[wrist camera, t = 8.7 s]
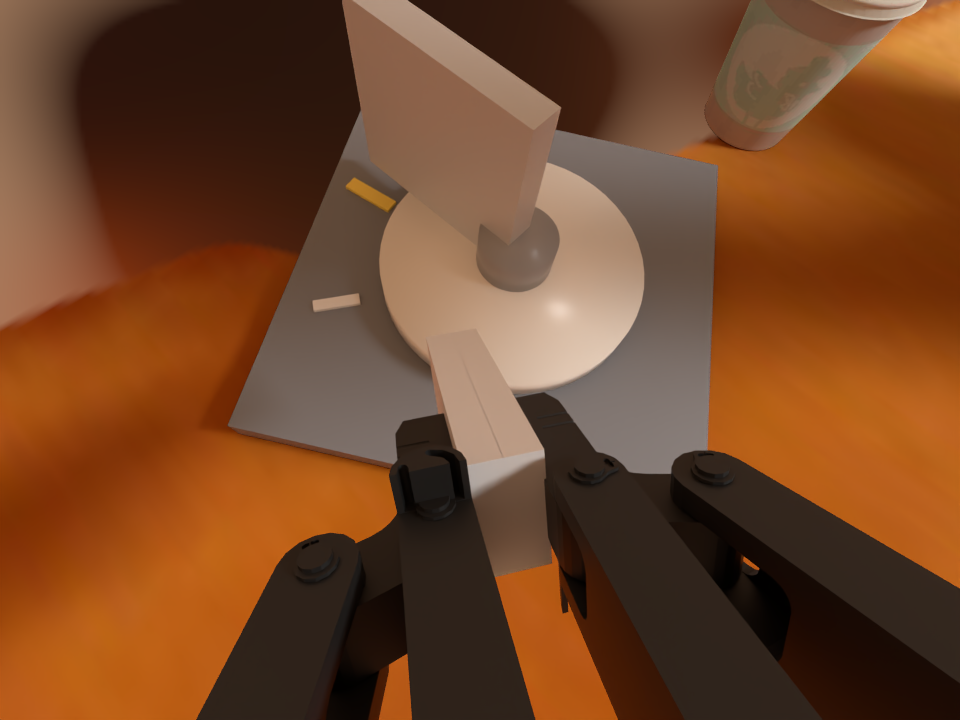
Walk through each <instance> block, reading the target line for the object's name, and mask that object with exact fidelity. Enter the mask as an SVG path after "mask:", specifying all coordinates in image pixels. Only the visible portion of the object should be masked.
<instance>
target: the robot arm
mask: <svg viewBox="0 0 960 720" xmlns="http://www.w3.org/2000/svg"><path fill="white" fill-rule="evenodd" d="M426 342H427V348H428V354H429V360H430V366H431V372H432V378H433V384H434V390H435V396H436V402H437V408H438V414H436V415H431V416H426V417H421V418H416V419H411V420H405V421H403V422H402V423H401V425H400V427H399V428H398V430H397V432H396V433H395V438H396V448H397V449H396V451H397V461H396V462H395V463H394V464H393V465H392V467H391V470H390V474H389V478H390V483H391V487H392V491H393V496H394V500H395V505H396V509H397V515H396V516H395V518H394V519H393V520H392V521H391V522H390V524H388V525H387V526H386V527H385V528H384V529H382V530H381V531H379V532H378V533H376V534H374V535H373V536H371V537H369V538H367V539H365V540H362V541H360V542H358V543H355V541H354V540H353V539H351V538H349V537H348V536H346V535H344V534H336V533H327V534H322V535H317V536H313V537H311V538H309V539H307V540H305V541H302V542H300V543H299V544H297V545H296V546H295V547H293V548H292V549H291V550H289V551H288V552H287V553H286V554H285V555H284V556H283V558H282V559H281V560H280V562H279V563H278V564H277V566H276V568H275V570H274V572H273V574H272V575H271V577H270V579H269V581H268V583H267V585H266V587H265V589H264V591H263V593H262V595H261V597H260V598H259V600H258V602H257V604H256V606H255V608H254V610H253V612H252V614H251V616H250V618H249V620H248V621H247V623H246V625H245V627H244V629H243V631H242V633H241V635H240V637H239V639H238V641H237V643H236V644H235V646H234V648H233V650H232V652H231V654H230V656H229V658H228V660H227V662H226V664H225V666H224V667H223V669H222V671H221V673H220V675H219V677H218V679H217V681H216V683H215V685H214V687H213V689H212V690H211V692H210V694H209V696H208V698H207V700H206V702H205V704H204V706H203V708H202V710H201V712H200V713H199V715H198V717H197V719H196V720H379V715H380V710H381V706H382V701H383V696H384V691H385V687H386V682H387V677H388V673H389V664H391V663H392V662H394V661H396V660H397V659H399V658H401V657H402V656H404V655H406V654H407V653H408V667H409V681H410V695H411V709H412V720H535V717H534V713H533V710H532V706H531V703H530V699H529V696H528V692H527V689H526V685H525V682H524V678H523V675H522V671H521V668H520V664H519V661H518V657H517V654H516V650H515V647H514V643H513V640H512V636H511V633H510V629H509V626H508V622H507V619H506V615H505V612H504V608H503V605H502V601H501V598H500V594H499V591H498V587H497V584H496V580H495V577H497V576H501V575H505V574H509V573H513V572H518V571H522V570H526V569H530V568H534V567H538V566H542V565H547V564H551V563H552V557H551V546H552V548H553V550H554V552H555V555H556V557H557V559H558V562H559V579H560V596H561V606H562V612H563V613H566V612H568V602H569V605H570V607H571V610H572V612H573V614H574V617H575V619H576V621H577V624H578V626H579V628H580V631H581V633H582V635H583V638H584V640H585V642H586V645H587V647H588V650H589V652H590V654H591V657H592V659H593V661H594V664H595V666H596V668H597V671H598V673H599V675H600V678H601V680H602V682H603V685H604V687H605V689H606V692H607V694H608V697H609V699H610V701H611V704H612V706H613V708H614V711H615V713H616V715H617V718H618V720H960V589H959V588H958V587H956V586H954V585H953V584H951V583H949V582H947V581H946V580H944V579H942V578H941V577H939V576H937V575H935V574H934V573H932V572H930V571H929V570H927V569H925V568H924V567H922V566H920V565H918V564H917V563H915V562H913V561H912V560H910V559H908V558H906V557H905V556H903V555H901V554H900V553H898V552H896V551H894V550H893V549H891V548H889V547H888V546H886V545H884V544H883V543H881V542H879V541H877V540H876V539H874V538H872V537H871V536H869V535H867V534H865V533H864V532H862V531H860V530H859V529H857V528H855V527H853V526H852V525H850V524H848V523H847V522H845V521H843V520H842V519H840V518H838V517H836V516H835V515H833V514H831V513H830V512H828V511H826V510H824V509H823V508H821V507H819V506H818V505H816V504H814V503H812V502H811V501H809V500H807V499H806V498H804V497H802V496H800V495H799V494H797V493H795V492H794V491H792V490H790V489H789V488H787V487H785V486H783V485H782V484H780V483H778V482H777V481H775V480H773V479H771V478H770V477H768V476H766V475H765V474H763V473H761V472H759V471H758V470H756V469H754V468H753V467H751V466H749V465H748V464H746V463H744V462H742V461H741V460H739V459H737V458H734V457H732V456H730V455H727V454H725V453H720V452H715V451H710V450H695V451H691V452H687V453H683V454H682V455H680V456H679V457H677V458H676V459H675V460H674V462H673V465H672V467H671V474H643V473H632V472H629V471H628V470H627V469H626V468H625V466H624V465H623V464H622V463H621V462H619V461H618V460H617V459H616V458H614V457H612V456H609V455H607V454H605V453H600V452H596V450H595V449H594V448H593V446H592V445H591V444H590V442H589V441H588V439H587V438H586V437H585V435H584V434H583V433H582V431H581V430H580V429H579V427H578V426H577V424H576V423H574V421H573V419H572V418H571V416H570V415H569V414H568V413H567V411H566V409H565V408H564V407H563V405H562V404H561V403H560V401H559V400H557V399H556V398H554V397H552V396H550V395H548V394H546V393H544V392H542V393H537V394H532V395H527V396H522V397H516V398H515V397H514V395H513V393H512V392H511V390H510V388H509V386H508V384H507V383H506V381H505V379H504V377H503V376H502V374H501V372H500V370H499V369H498V367H497V365H496V363H495V362H494V360H493V358H492V356H491V354H490V353H489V351H488V349H487V347H486V346H485V344H484V342H483V340H482V339H481V337H480V335H479V333H478V331H477V330H476V328H475V329H470V330H464V331H458V332H452V333H446V334H441V335H435V336H429V337H426ZM743 557H746V558H747V559H748V560H750V561H751V562H752V563H754V564H755V565H756V566H757V567H759V568H760V569H759V570H755V569H753V568H752V567H750V566H749V565H747V564H746V563H745V562H743Z"/></svg>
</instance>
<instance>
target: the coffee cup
mask: <svg viewBox="0 0 960 720" xmlns="http://www.w3.org/2000/svg"><path fill="white" fill-rule="evenodd" d="M926 1H927V0H751V2H750V4H749V6H748V9H747V11H746V13H745V16H744V18H743V20H742V23H741V25H740V28H739V30H738V32H737V34H736V36H735V39H734V41H733V43H732V46H731V48H730V50H729V52H728V55H727V57H726V59H725V62H724V64H723V66H722V68H721V71H720V73H719V75H718V78H717V80H716V83H715V85H714V87H713V90H712V92H711V94H710V96H709V99H708V101H707V103H706V106H705V118H706V121H707V123H708V125H709V126H710V128H711V130H712V131H713V132H714V133H715V134H716V135H717V136H718V137H719V138H720V139H722V140H723V141H725V142H726V143H728V144H730V145H732V146H734V147H737V148H740V149H745V150H753V151H757V150H765V149H768V148H771V147H773V146H774V145H776V144H777V143H778V142H779V141H780V140H781V139H782V138H783V137H784V136H785V135H786V134H787V133H788V132H789V131H790V130H791V129H792V128H793V127H794V126H795V125H796V124H797V123H799V122H800V121H801V120H802V119H803V118H804V117H805V116H806V115H807V114H808V113H809V112H810V111H811V110H812V109H813V108H814V107H815V106H816V105H817V104H818V103H819V102H820V101H821V100H822V99H823V98H824V97H825V96H826V95H827V94H828V93H829V92H830V91H831V90H832V89H833V88H834V87H835V86H836V85H837V84H838V83H839V82H840V81H841V80H842V79H843V78H844V77H845V76H846V75H847V74H848V73H849V72H850V71H851V70H852V69H853V68H854V67H855V66H856V65H857V64H858V63H859V62H860V61H861V60H862V59H863V58H864V57H865V56H866V55H867V54H868V53H869V52H870V51H871V50H872V49H873V48H874V47H875V46H876V45H877V44H878V43H879V42H880V41H881V40H882V39H883V38H884V37H885V36H886V35H887V34H888V33H889V32H890V31H891V30H892V29H893V28H894V27H895V26H896V25H897V24H898V23H899V22H900V21H901V20H902V19H903V18H904V17H907V16H910V15H912V14H914V13H915V12H917V11H918V10H920V9H921V8H922V7H923V6H924V4H925V3H926Z"/></svg>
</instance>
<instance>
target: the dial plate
mask: <svg viewBox="0 0 960 720" xmlns="http://www.w3.org/2000/svg"><path fill="white" fill-rule="evenodd" d="M547 163H551V164H553V165H556V166H559V167H561V168H564V169H566V170H568V171H570V172H572V173H574V174H576V175H578V176H580V177H582V178H583V179H585V180H586V181H588V182H589V183H591V184H592V185H594V186H595V187H596V188H597V189H599V190H600V191H601V192H602V193H604V194H605V195H606V196H607V197H608V198H609V199H610V200H611V201H612V202H613V203H614V204H615V205H616V207H617V208H618V209H619V210H620V212H621V213H622V214H623V216H624V217H625V218H626V220H627V222H628V223H629V225H630V227H631V228H632V230H633V232H634V235H635V237H636V239H637V242H638V244H639V247H640V251H641V255H642V258H643V266H644V291H643V297H642V302H641V305H640V308H639V311H638V314H637V317H636V319H635V321H634V323H633V325H632V326H631V328H630V330H629V332H628V333H627V334H626V336H625V337H624V338H623V340H622V341H621V342H620V344H619V345H618V346H617V347H616V348H615V350H614V351H613V352H612V353H611V355H610V356H609V357H608V358H607V359H606V360H605V361H604V362H602V363H601V364H600V365H599V366H598V367H597V368H595V369H594V370H593V371H591V372H590V373H589V374H587V375H586V376H584V377H582V378H580V379H578V380H576V381H574V382H573V383H570V384H567V385H565V386H562V387H559V388H557V389H553V390H548V391H544V393H546V394H548V395H550V396H552V397H554V398H556V399H557V400H559V401H560V403H561V404H562V405H563V407H564V408H565V409H566V411H567V413H568V414H569V415H570V416H571V418H572V419H573V421H574V423H576V424H577V426H578V427H579V429H580V430H581V431H582V433H583V434H584V435H585V437H586V438H587V439H588V441H589V442H590V444H591V445H592V446H593V448H594V449H595V450H596V452H600V453H605V454H607V455H609V456H612V457H614V458H616V459H617V460H618V461H619V462H621V463H622V464H623V465H624V466H625V468H626V469H627V470H628V471H629V472H632V473H643V474H671V467H672V465H673V462H674V460H675V459H676V458H677V457H679V456H680V455H682V454H683V453H687V452H691V451H695V450H707V441H708V414H709V388H710V361H711V334H712V308H713V281H714V255H715V228H716V202H717V175H718V165H713V164H709V163H704V162H700V161H695V160H691V159H686V158H682V157H677V156H673V155H668V154H663V153H659V152H654V151H650V150H645V149H641V148H636V147H632V146H627V145H622V144H618V143H614V142H609V141H604V140H599V139H595V138H590V137H586V136H581V135H577V134H573V133H568V132H563V131H559V130H555V133H554V137H553V141H552V144H551V148H550V152H549V156H548V159H547ZM407 193H408V191H407V190H406V189H405V188H403V187H402V186H401V185H400V184H398V183H397V182H396V181H395V180H393V179H392V178H391V177H390V176H388V175H387V174H386V173H385V172H384V171H382V170H381V169H380V168H379V167H377V166H376V165H375V164H374V163H372V162H371V161H370V157H369V151H368V145H367V140H366V134H365V128H364V123H363V117H362V111H360V113H359V116H358V118H357V121H356V123H355V125H354V128H353V130H352V132H351V135H350V137H349V140H348V142H347V144H346V146H345V149H344V151H343V154H342V156H341V159H340V161H339V163H338V166H337V168H336V170H335V172H334V175H333V177H332V180H331V182H330V185H329V187H328V189H327V191H326V194H325V196H324V199H323V201H322V203H321V206H320V208H319V210H318V213H317V215H316V218H315V220H314V222H313V225H312V227H311V229H310V232H309V234H308V237H307V239H306V241H305V243H304V246H303V248H302V251H301V253H300V255H299V258H298V260H297V262H296V265H295V267H294V269H293V272H292V274H291V277H290V279H289V281H288V284H287V286H286V288H285V291H284V293H283V296H282V298H281V300H280V303H279V305H278V307H277V310H276V312H275V314H274V317H273V319H272V322H271V324H270V326H269V329H268V331H267V333H266V336H265V338H264V340H263V343H262V345H261V348H260V350H259V352H258V355H257V357H256V359H255V362H254V364H253V366H252V369H251V371H250V374H249V376H248V378H247V381H246V383H245V385H244V388H243V390H242V392H241V395H240V397H239V400H238V402H237V404H236V407H235V409H234V411H233V414H232V416H231V419H230V421H229V423H228V427H230V428H231V429H233V430H235V431H236V432H238V433H239V434H244V435H248V436H252V437H257V438H261V439H265V440H270V441H274V442H278V443H283V444H287V445H291V446H296V447H300V448H304V449H309V450H313V451H317V452H322V453H326V454H330V455H335V456H339V457H343V458H348V459H352V460H356V461H361V462H365V463H369V464H374V465H378V466H383V467H387V468H391V467H392V465H393V464H394V463H395V462H396V461H397V451H396V449H397V448H396V438H395V433H396V432H397V430H398V428H399V427H400V425H401V423H402V422H403V421H405V420H411V419H416V418H421V417H426V416H431V415H436V414H438V408H437V402H436V396H435V390H434V384H433V378H432V372H431V366H430V365H429V364H427V363H426V362H425V361H424V360H422V359H421V358H420V357H419V356H418V355H417V354H416V353H415V352H414V351H413V350H412V349H411V348H410V347H409V345H408V344H407V343H406V341H405V340H404V339H403V337H402V336H401V335H400V333H399V332H398V330H397V328H396V326H395V324H394V322H393V321H392V319H391V316H390V313H389V311H388V308H387V305H386V301H385V296H384V292H383V287H382V282H381V277H380V265H379V257H380V247H381V242H382V238H383V234H384V230H385V228H386V226H387V223H388V221H389V219H390V217H391V215H392V213H393V212H394V210H395V209H396V207H397V205H398V204H399V203H400V202H401V200H402V199H403V198H404V197H405V196H406V194H407ZM539 393H542V392H539ZM532 394H537V393H530V394H513V395H514V397H515V398H516V397H522V396H527V395H532Z"/></svg>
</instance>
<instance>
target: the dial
mask: <svg viewBox="0 0 960 720" xmlns="http://www.w3.org/2000/svg"><path fill="white" fill-rule="evenodd" d="M342 3H343V8H344V14H345V19H346V26H347V31H348V37H349V43H350V48H351V54H352V60H353V65H354V71H355V76H356V83H357V88H358V94H359V100H360V105H361V111H362V117H363V123H364V128H365V134H366V140H367V145H368V151H369V157H370V161H371V162H372V163H374V164H375V165H376V166H377V167H379V168H380V169H381V170H382V171H384V172H385V173H386V174H387V175H388V176H390V177H391V178H392V179H393V180H395V181H396V182H397V183H398V184H400V185H401V186H402V187H403V188H405V189H406V190H407V191H408V193H407V194H406V196H405V197H404V198H403V199H402V200H401V202H400V203H399V204H398V205H397V207H396V209H395V210H394V212H393V213H392V215H391V217H390V219H389V221H388V223H387V226H386V228H385V230H384V234H383V238H382V242H381V247H380V257H379V265H380V277H381V282H382V287H383V292H384V296H385V301H386V305H387V308H388V311H389V313H390V316H391V319H392V321H393V322H394V324H395V326H396V328H397V330H398V332H399V333H400V335H401V336H402V337H403V339H404V340H405V341H406V343H407V344H408V345H409V347H410V348H411V349H412V350H413V351H414V352H415V353H416V354H417V355H418V356H419V357H420V358H421V359H422V360H424V361H425V362H426V363H427V364H429V365H430V360H429V354H428V348H427V342H426V337H429V336H435V335H441V334H446V333H452V332H458V331H464V330H470V329H475V328H476V330H477V331H478V333H479V335H480V337H481V339H482V340H483V342H484V344H485V346H486V347H487V349H488V351H489V353H490V354H491V356H492V358H493V360H494V362H495V363H496V365H497V367H498V369H499V370H500V372H501V374H502V376H503V377H504V379H505V381H506V383H507V384H508V386H509V388H510V390H511V392H512V393H513V394H530V393H539V392H544V391H548V390H553V389H557V388H559V387H562V386H565V385H567V384H570V383H573V382H574V381H576V380H578V379H580V378H582V377H584V376H586V375H587V374H589V373H590V372H591V371H593V370H594V369H595V368H597V367H598V366H599V365H600V364H601V363H602V362H604V361H605V360H606V359H607V358H608V357H609V356H610V355H611V353H612V352H613V351H614V350H615V348H616V347H617V346H618V345H619V344H620V342H621V341H622V340H623V338H624V337H625V336H626V334H627V333H628V332H629V330H630V328H631V326H632V325H633V323H634V321H635V319H636V317H637V314H638V311H639V308H640V305H641V302H642V297H643V291H644V266H643V258H642V255H641V251H640V247H639V244H638V242H637V239H636V237H635V235H634V232H633V230H632V228H631V227H630V225H629V223H628V222H627V220H626V218H625V217H624V216H623V214H622V213H621V212H620V210H619V209H618V208H617V207H616V205H615V204H614V203H613V202H612V201H611V200H610V199H609V198H608V197H607V196H606V195H605V194H604V193H602V192H601V191H600V190H599V189H597V188H596V187H595V186H594V185H592V184H591V183H589V182H588V181H586V180H585V179H583V178H582V177H580V176H578V175H576V174H574V173H572V172H570V171H568V170H566V169H564V168H561V167H559V166H556V165H553V164H551V163H547V159H548V156H549V152H550V148H551V144H552V141H553V137H554V133H555V129H556V126H557V122H558V118H559V114H560V110H561V107H560V106H558V105H557V104H556V103H554V102H553V101H551V100H550V99H548V98H547V97H545V96H544V95H542V94H541V93H540V92H538V91H537V90H535V89H534V88H533V87H531V86H530V85H528V84H527V83H525V82H524V81H522V80H521V79H520V78H518V77H517V76H515V75H514V74H512V73H511V72H510V71H508V70H507V69H505V68H504V67H502V66H501V65H499V64H498V63H497V62H495V61H494V60H492V59H491V58H489V57H488V56H486V55H485V54H484V53H482V52H481V51H479V50H478V49H476V48H475V47H474V46H472V45H471V44H469V43H468V42H466V41H465V40H463V39H462V38H461V37H459V36H458V35H456V34H455V33H453V32H452V31H451V30H449V29H448V28H446V27H445V26H443V25H442V24H440V23H439V22H438V21H436V20H435V19H433V18H432V17H430V16H429V15H427V14H426V13H425V12H423V11H422V10H420V9H419V8H417V7H416V6H414V5H413V4H412V3H410V2H409V1H407V0H342Z"/></svg>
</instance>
